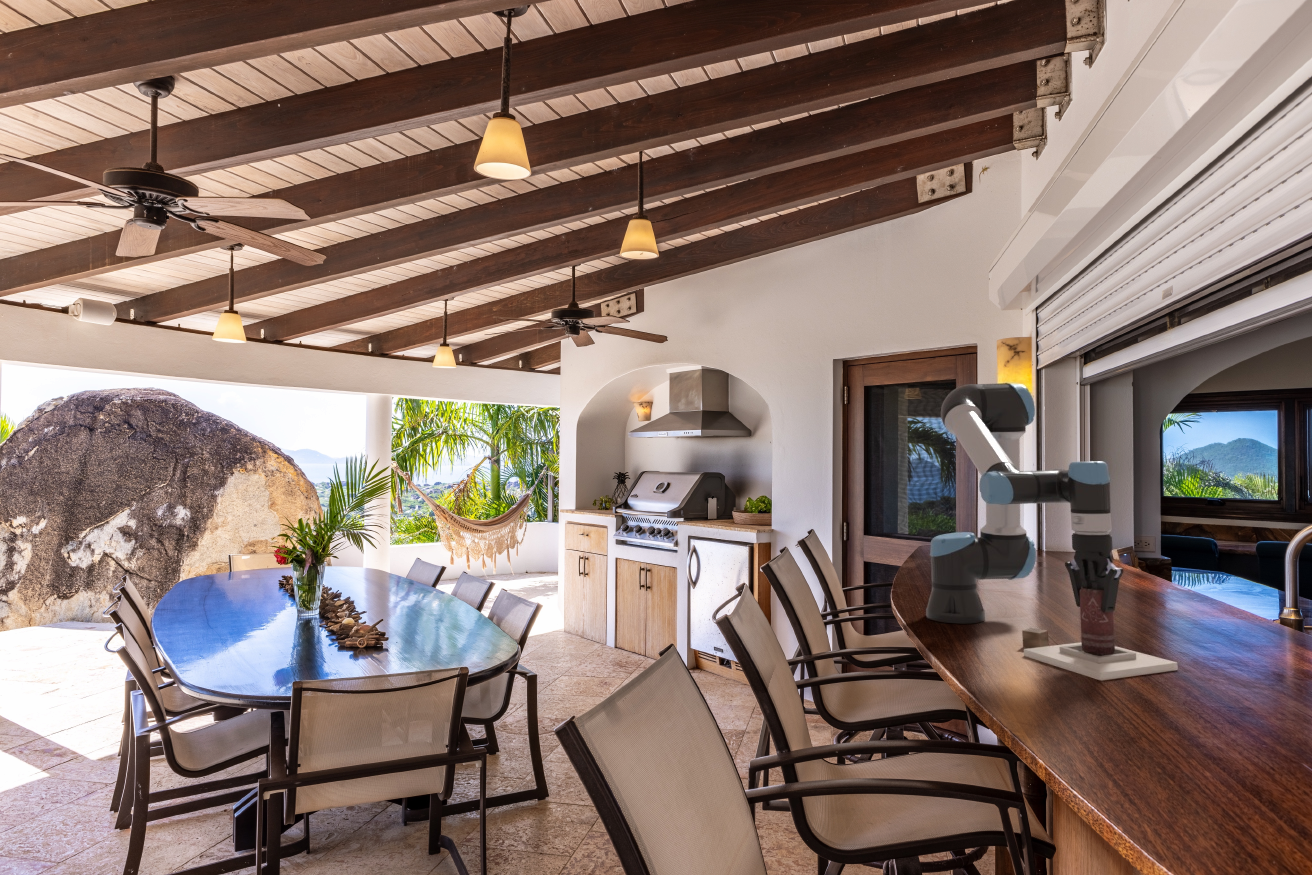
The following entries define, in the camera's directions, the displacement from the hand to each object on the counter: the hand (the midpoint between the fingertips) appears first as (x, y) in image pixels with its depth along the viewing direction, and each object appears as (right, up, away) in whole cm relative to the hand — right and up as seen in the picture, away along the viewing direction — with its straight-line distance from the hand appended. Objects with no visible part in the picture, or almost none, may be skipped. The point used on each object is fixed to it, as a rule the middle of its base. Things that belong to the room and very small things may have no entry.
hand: (1096, 642), depth 158 cm
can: (+1, -2, 0) cm, 2 cm away
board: (0, -4, 0) cm, 4 cm away
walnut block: (-6, -5, +14) cm, 16 cm away
